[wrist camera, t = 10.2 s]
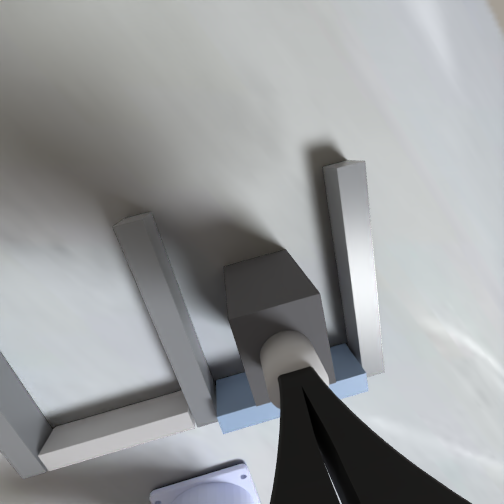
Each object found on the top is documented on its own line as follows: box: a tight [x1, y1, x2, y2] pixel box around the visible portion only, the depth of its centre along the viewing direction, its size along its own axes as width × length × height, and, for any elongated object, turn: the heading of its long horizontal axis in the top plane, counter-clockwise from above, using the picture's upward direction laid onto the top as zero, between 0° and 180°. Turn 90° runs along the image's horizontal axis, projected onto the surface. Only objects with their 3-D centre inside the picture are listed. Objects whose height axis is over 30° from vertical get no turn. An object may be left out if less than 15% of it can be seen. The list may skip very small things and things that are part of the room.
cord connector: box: [224, 250, 336, 409], centre depth 15 cm, size 5×4×8 cm
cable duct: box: [0, 160, 385, 479], centre depth 17 cm, size 14×24×3 cm, turn 103°
